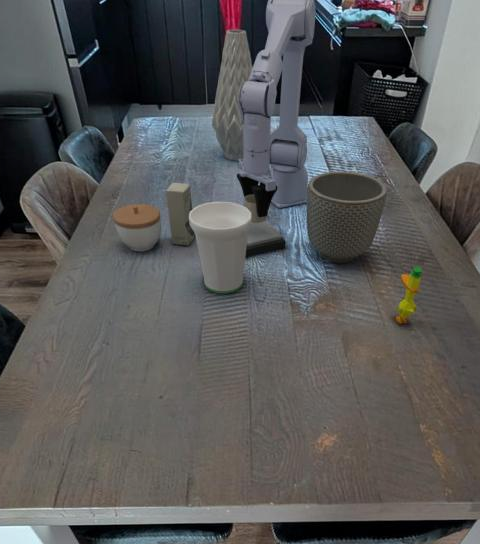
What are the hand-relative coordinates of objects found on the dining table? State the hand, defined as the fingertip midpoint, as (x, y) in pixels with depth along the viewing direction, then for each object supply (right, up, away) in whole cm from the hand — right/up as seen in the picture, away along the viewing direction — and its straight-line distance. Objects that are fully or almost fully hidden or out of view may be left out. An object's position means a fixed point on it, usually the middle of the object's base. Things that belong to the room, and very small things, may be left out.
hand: (256, 210), depth 112 cm
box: (-18, -5, +5) cm, 20 cm away
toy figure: (+30, -29, -15) cm, 44 cm away
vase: (-7, +37, +46) cm, 59 cm away
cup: (-7, -19, -8) cm, 22 cm away
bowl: (0, -1, +1) cm, 2 cm away
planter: (+20, -10, +2) cm, 22 cm away
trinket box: (-28, -7, +3) cm, 29 cm away
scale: (-1, -6, +5) cm, 8 cm away
